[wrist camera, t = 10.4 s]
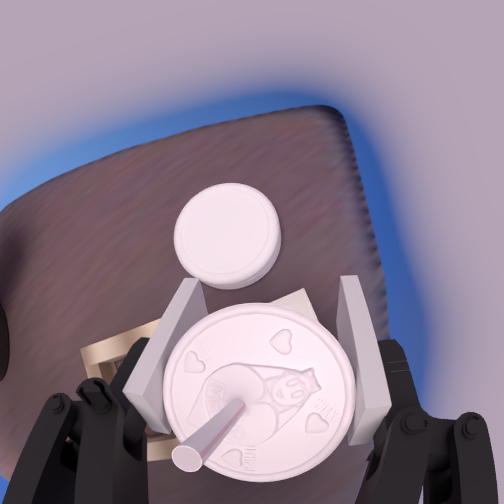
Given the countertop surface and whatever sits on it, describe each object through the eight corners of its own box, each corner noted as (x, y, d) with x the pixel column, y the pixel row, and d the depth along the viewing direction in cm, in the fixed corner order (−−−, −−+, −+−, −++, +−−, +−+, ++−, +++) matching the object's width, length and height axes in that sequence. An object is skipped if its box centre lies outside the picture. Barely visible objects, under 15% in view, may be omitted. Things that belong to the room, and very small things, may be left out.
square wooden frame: (135, 454, 23) (121, 463, 20) (97, 349, 27) (80, 348, 24) (242, 435, 22) (236, 445, 20) (193, 312, 27) (182, 309, 24)
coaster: (278, 193, 29) (275, 175, 26) (284, 287, 26) (282, 280, 23) (188, 202, 31) (176, 187, 27) (183, 292, 28) (168, 286, 24)
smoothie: (214, 340, 18) (42, 328, 5) (304, 304, 18) (323, 206, 5) (248, 426, 16) (149, 564, 3) (341, 392, 16) (437, 506, 2)
